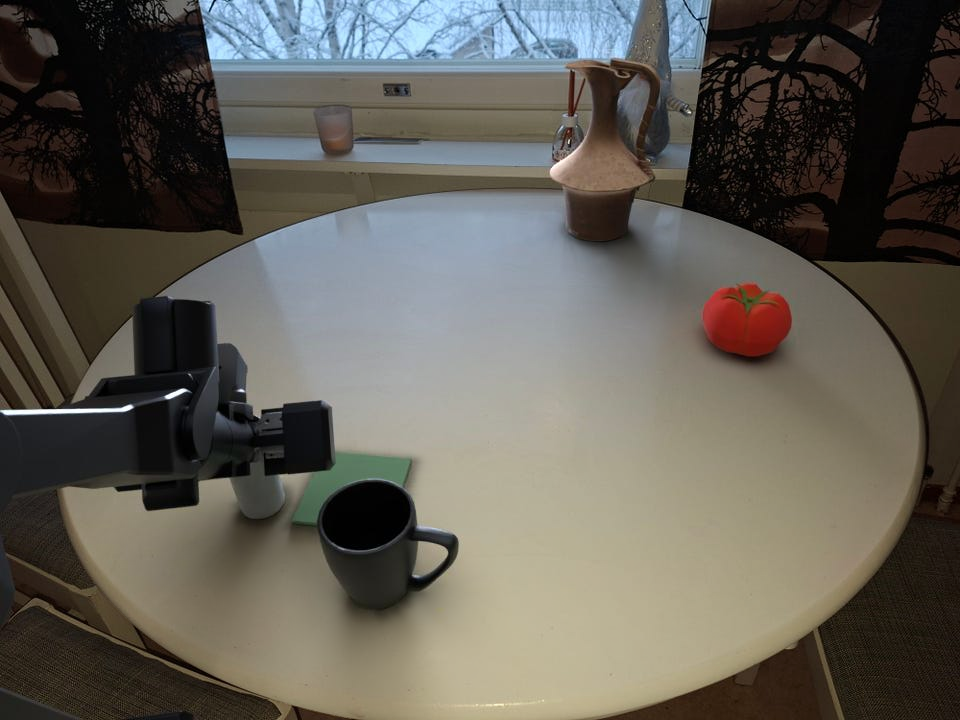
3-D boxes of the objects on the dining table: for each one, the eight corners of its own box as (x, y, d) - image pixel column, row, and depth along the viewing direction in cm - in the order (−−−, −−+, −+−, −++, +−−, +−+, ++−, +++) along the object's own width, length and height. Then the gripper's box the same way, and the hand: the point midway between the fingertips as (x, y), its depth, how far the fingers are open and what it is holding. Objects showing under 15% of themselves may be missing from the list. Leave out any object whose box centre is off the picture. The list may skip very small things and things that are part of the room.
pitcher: (656, 215, 123) (679, 49, 106) (637, 258, 110) (659, 77, 94) (563, 203, 128) (570, 43, 112) (534, 242, 116) (537, 68, 99)
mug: (443, 648, 57) (435, 578, 51) (317, 608, 60) (297, 539, 55) (475, 569, 63) (471, 499, 57) (360, 537, 66) (345, 469, 61)
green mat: (388, 533, 67) (388, 530, 66) (292, 523, 68) (291, 520, 68) (411, 460, 75) (411, 458, 74) (325, 453, 76) (324, 450, 76)
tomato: (795, 339, 91) (810, 290, 86) (760, 377, 84) (774, 327, 80) (721, 311, 97) (731, 265, 92) (683, 346, 90) (691, 298, 86)
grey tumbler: (250, 527, 68) (224, 452, 62) (234, 499, 71) (207, 426, 65) (292, 505, 70) (271, 431, 64) (275, 480, 73) (253, 407, 67)
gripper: (310, 329, 54) (339, 359, 69) (68, 351, 53) (152, 376, 68) (319, 470, 52) (347, 469, 68) (70, 496, 51) (156, 488, 67)
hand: (251, 447), depth 68 cm, fingers closed on grey tumbler, 4 cm apart
